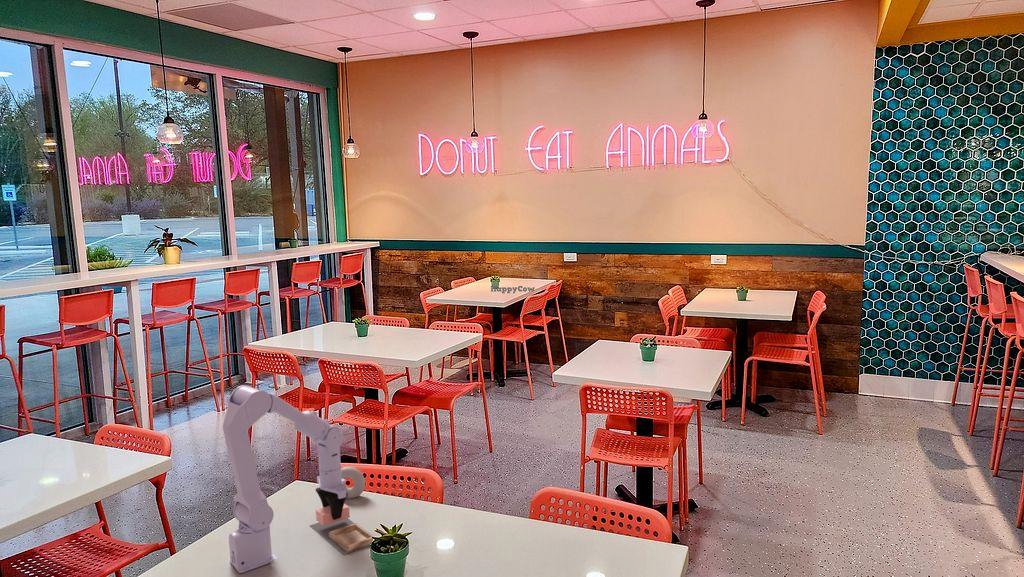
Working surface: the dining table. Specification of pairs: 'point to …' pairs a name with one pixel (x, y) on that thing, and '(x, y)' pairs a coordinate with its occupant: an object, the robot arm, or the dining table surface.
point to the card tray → (351, 537)
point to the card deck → (330, 515)
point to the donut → (357, 479)
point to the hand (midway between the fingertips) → (332, 515)
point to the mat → (328, 528)
